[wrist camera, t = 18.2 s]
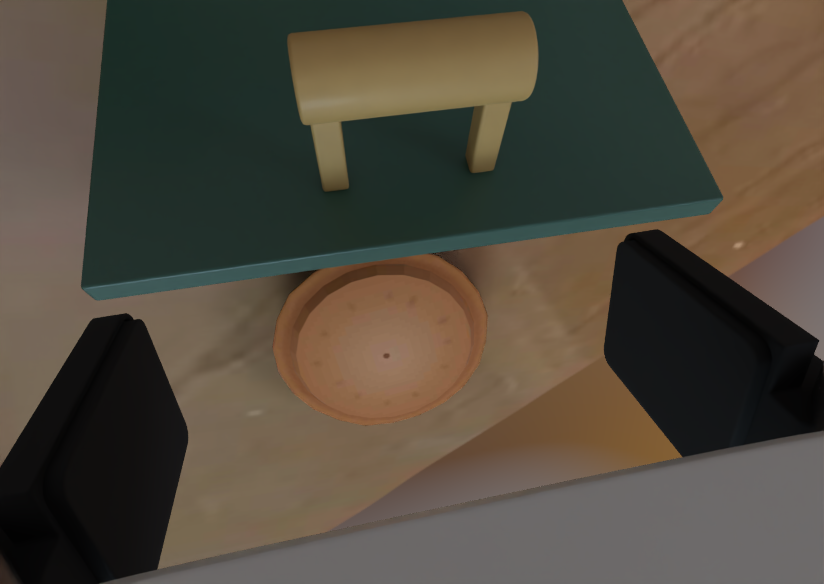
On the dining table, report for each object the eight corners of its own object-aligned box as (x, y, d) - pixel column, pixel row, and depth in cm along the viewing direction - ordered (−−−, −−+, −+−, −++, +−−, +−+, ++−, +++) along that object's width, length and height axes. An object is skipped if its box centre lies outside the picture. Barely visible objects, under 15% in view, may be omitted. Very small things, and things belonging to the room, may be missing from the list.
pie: (512, 272, 42) (535, 305, 37) (416, 414, 47) (427, 456, 43) (329, 190, 36) (332, 218, 32) (246, 362, 42) (239, 405, 37)
